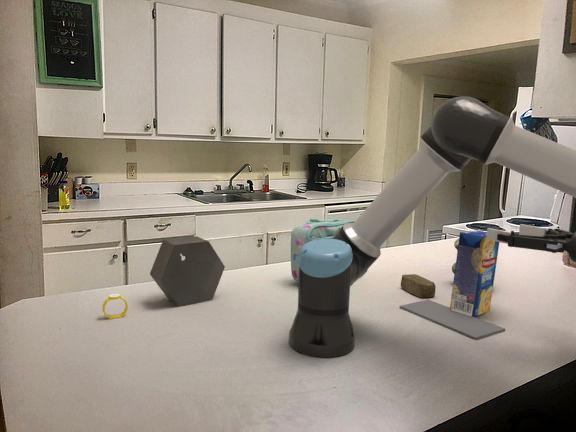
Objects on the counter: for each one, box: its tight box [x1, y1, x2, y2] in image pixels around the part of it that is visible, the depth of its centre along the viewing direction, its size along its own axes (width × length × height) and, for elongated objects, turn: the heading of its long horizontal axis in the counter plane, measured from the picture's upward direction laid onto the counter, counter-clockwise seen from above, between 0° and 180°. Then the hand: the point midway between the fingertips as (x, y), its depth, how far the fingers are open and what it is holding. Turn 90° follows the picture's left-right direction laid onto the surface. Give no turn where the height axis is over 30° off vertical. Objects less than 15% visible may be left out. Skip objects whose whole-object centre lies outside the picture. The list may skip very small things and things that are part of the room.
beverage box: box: [449, 229, 500, 317], centre depth 134 cm, size 7×11×22 cm, turn 135°
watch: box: [102, 293, 129, 320], centre depth 122 cm, size 6×3×6 cm, turn 120°
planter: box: [149, 235, 226, 307], centre depth 136 cm, size 17×8×21 cm
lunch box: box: [290, 218, 356, 283], centre depth 159 cm, size 27×10×21 cm, turn 131°
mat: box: [399, 298, 506, 341], centre depth 130 cm, size 12×25×1 cm, turn 33°
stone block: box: [400, 273, 436, 299], centre depth 151 cm, size 6×12×5 cm, turn 21°
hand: (504, 231), depth 120 cm, fingers open, 13 cm apart
